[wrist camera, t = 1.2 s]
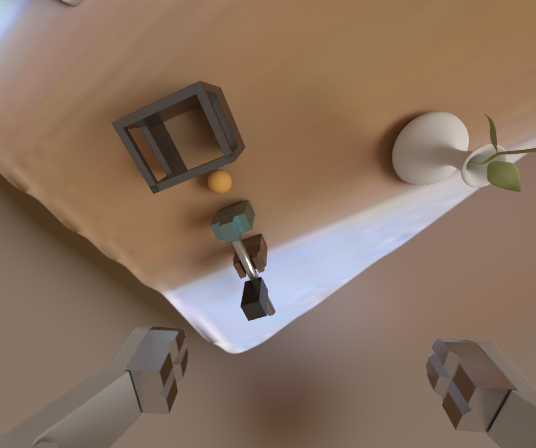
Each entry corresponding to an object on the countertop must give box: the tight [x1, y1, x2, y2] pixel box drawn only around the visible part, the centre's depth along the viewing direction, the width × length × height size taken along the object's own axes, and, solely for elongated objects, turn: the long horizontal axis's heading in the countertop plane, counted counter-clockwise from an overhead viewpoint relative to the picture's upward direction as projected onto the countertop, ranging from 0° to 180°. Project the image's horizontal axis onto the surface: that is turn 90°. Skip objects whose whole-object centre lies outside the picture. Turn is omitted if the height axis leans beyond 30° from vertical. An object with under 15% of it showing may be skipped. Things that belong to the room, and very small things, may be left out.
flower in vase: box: [392, 111, 536, 192], centre depth 31 cm, size 13×11×25 cm
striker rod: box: [210, 200, 275, 321], centre depth 44 cm, size 20×6×14 cm, turn 21°
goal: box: [112, 81, 245, 194], centre depth 37 cm, size 10×12×12 cm
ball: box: [208, 170, 232, 194], centre depth 44 cm, size 4×4×4 cm
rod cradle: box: [233, 234, 267, 279], centre depth 47 cm, size 3×5×8 cm, turn 111°
